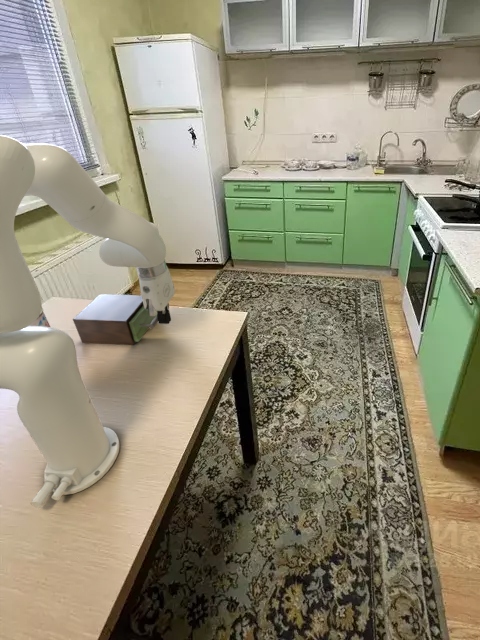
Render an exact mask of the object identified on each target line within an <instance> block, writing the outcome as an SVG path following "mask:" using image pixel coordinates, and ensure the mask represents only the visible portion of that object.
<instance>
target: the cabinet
mask: <svg viewBox="0 0 480 640" xmlns="http://www.w3.org/2000/svg"><path fill="white" fill-rule="evenodd" d="M142 304H143V301H142V296H141V294H106V293H99V295H98V296H96V297H95V298H94V299H93V300H92V301H91V302H90V303H89V304H87V305H86V306H85V307H84V308H83V309H82V310H81V311H80V312H79V313H78V314H76V316H74V317H73V318H72V321H73V324H74V326H75V328H76V331H77V333H78V336H79V339H80V341H81V343H82V344H94V345H95V344H96V345H97V344H98V345H115V346H116V345H117V346H134V345H135V344H136V343H137V342H136V341H135V340H134V337H132V334H131V330H130V327H129V324H128V321H129V320H130V319H131V317H132V316H133V315H134V314H135V313H136V311H137V310H138V309H139V308H140V307H141V305H142Z"/></svg>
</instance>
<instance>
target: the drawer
mask: <svg viewBox="0 0 480 640" xmlns="http://www.w3.org/2000/svg"><path fill="white" fill-rule="evenodd" d="M136 313H137V314H136V315H135V316H134V317H133V318H132V320H131V321H130V322H129V323H128V324H130V327H131V334H132V337H134V340H135V341H136V342H135V343H137V342H140V340H141V339H142V338H143V336H144V335H145V334H146V332H147V331H148V330H149V329H151V330H153V329H154V328H155V327H156V325H157V324H158V323H159V322H158V318H157V315H156V316H150V313H149V310H146V309H145V307H144V304H142V305H141V307H140V308H139V309H138V310H137V311H136Z"/></svg>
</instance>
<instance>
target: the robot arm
mask: <svg viewBox="0 0 480 640" xmlns="http://www.w3.org/2000/svg"><path fill="white" fill-rule="evenodd" d="M27 196H28V197H32V196H33V197H37V198H39V199H41V200H42V201H44V203H46V204H47V205H48V206H49V207H50V208H51V209H52V210H54V211H55V212H56V213H57V214H58V215H59V216H60V217H61V218H62V219H64V220H65V221H66V222H67V223H68V224H69V225H70V226H71V227H72V228H74V229H76V230H77V231H79V232H82V233H86V234H88V235H91V236H94V237H97V238H102V239H104V240H103V241H102V243H101V244H100V247H99V250H98V253H99V257H100V260H101V262H102V263H104V264H106V265H108V266H111V267H116V268H118V267H121V268H135V270H136V274H137V277H138V278H139V279H138V281H139V282H138V283H139V290H140V291H139V292H140V295H141V296H142V301H143V304H144V307H145V309H146V310H149V313H150V316H156V315H157V318H158V322H157V323H158V324H159V325H161V324H162V325H169V324H170V323H171V321H172V317H171V311H170V310H169V309H170V302H171V300H172V299H173V297H174V296H175V294H176V289H175V285H174V282H173V281H174V280H173V278H172V274H171V272H170V269H169V267H168V266H167V261H166V256H167V255H166V254H167V248H166V243H165V241H164V240H163V237H162V236H161V235H160V231H159V228H158V226H157V225H156V224H155V223H153V222H150V221H149V220H147V219H146V218H145V217H144V216H142V215H139V214H138V213H136V212H134V211H132V210H130V209H129V208H127V207H124V206H123V205H121V204H119V203H117V202H115V201H112V199H110V198H109V197H108V196H107V194H106V193H105V192H104V191H103V190H102V189H101V187H100V186H99V185H98V184H97V183H96V182H95V180H94V179H93V178H92V176H90V174H89V173H88V172H87V171H86V169H84V167H83V166H82V165H81V164H80V162H78V160H77V159H76V158H75V157H74V156H73V154H71V153H70V152H69V151H68V150H67V149H65V148H64V147H61V146H58V145H55V144H49V143H23V142H20V141H19V140H17V139H15V138H13V137H10V136H7V135H3V134H0V389H1V390H2V389H4V390H10V391H13V392H15V393H16V394H17V395H18V397H19V399H18V402H17V405H16V413H17V416H18V417H19V420H20V422H21V423H22V425H23V426H24V428H25V429H26V431H27V432H28V433H29V434H28V435H29V436H30V437H31V439H32V440H33V442H34V444H35V446H36V447H37V449H38V451H39V452H40V454H41V455H42V457H43V459H44V460H45V462H46V466H45V469H44V470H43V472H44V474H43V478H44V480H43V486H42V487H40V490H38V491H37V493H36V494H35V495H34V496H33V499H32V500H31V501H30V505H31V506H32V507H34V508H37V509H41V508H42V507H43V506H44V505H45V504H46V502H47V500H48V498H49V497H50V495H51V493H53V494H52V495H51V499H52V500H54V501H59V500H61V498H62V496H63V495H64V496H67V495H72V494H73V495H74V494H76V493H79V492H82V491H84V490H86V489H88V488H90V487H91V486H93V485H94V484H95V483H97V482H99V480H101V479H102V478H103V477H104V476H105V475H106V474H107V473H108V472H109V470H110V469H111V468H112V466H113V465H114V463H115V461H116V459H117V457H118V455H119V452H120V439H119V437H118V435H117V433H116V432H115V431H114V430H113V429H112V428H110V427H106V426H104V425H103V423H102V421H101V419H100V417H99V414H98V412H97V409H96V408H95V406H94V403H93V401H92V397H90V394H89V392H88V389H87V387H86V385H85V383H84V381H83V378H82V375H81V372H80V369H79V365H78V355H77V347H76V344H75V341H74V339H73V338H72V337H71V336H70V335H69V334H68V333H67V332H65V331H63V330H61V329H58V328H56V327H51V326H50V327H44V326H29V325H31V324H32V323H34V322H35V321H36V319H37V318H38V317H39V315H40V313H41V308H43V301H42V296H41V294H40V291H39V288H38V286H37V284H36V282H35V279H34V277H33V275H32V272H31V271H30V268H29V266H28V263H27V261H26V259H25V257H24V255H23V253H22V250H21V248H20V246H19V242H18V239H17V237H16V234H15V219H16V214H17V212H18V210H19V207H20V205H21V203H22V201H23V199H24V198H25V197H27Z"/></svg>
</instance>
